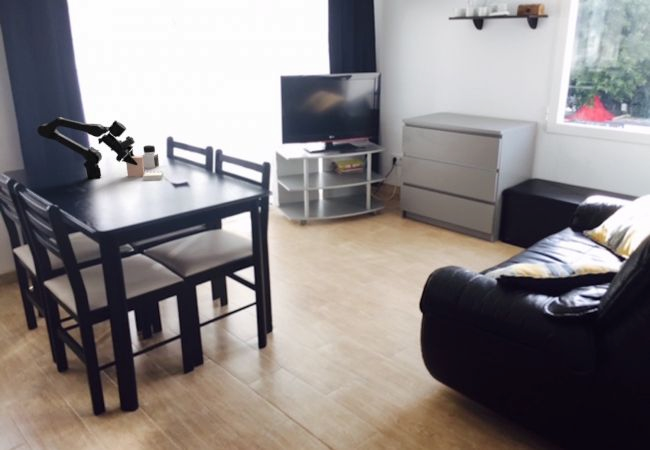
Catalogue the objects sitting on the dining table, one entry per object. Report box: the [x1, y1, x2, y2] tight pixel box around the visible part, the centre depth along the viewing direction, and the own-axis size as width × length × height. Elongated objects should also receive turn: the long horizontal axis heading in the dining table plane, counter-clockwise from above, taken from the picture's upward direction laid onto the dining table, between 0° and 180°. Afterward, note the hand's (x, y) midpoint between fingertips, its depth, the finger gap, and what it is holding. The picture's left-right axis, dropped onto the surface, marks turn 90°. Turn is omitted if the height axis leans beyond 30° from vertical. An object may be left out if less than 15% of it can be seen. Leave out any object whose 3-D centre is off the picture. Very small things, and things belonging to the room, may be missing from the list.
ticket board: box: [142, 171, 165, 181], centre depth 291 cm, size 9×8×3 cm
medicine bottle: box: [141, 144, 160, 169], centre depth 316 cm, size 7×7×12 cm
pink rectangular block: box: [125, 155, 145, 178], centre depth 295 cm, size 8×4×10 cm, turn 98°
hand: (137, 163), depth 295 cm, fingers closed on pink rectangular block, 4 cm apart
